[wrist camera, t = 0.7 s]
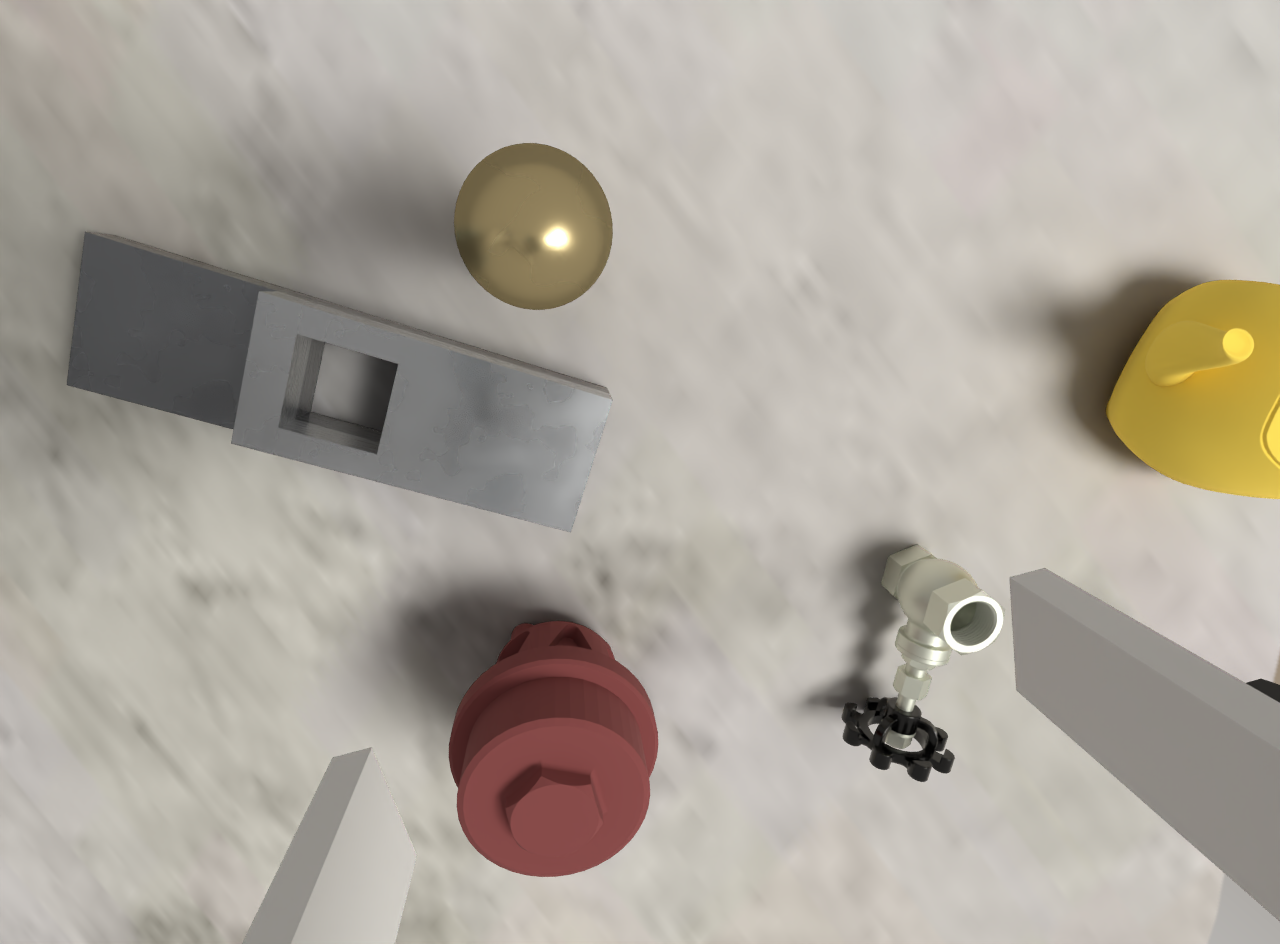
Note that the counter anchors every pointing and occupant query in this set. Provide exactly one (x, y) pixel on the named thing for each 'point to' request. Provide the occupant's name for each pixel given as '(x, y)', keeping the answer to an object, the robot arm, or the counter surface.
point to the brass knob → (533, 226)
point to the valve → (923, 657)
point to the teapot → (1207, 390)
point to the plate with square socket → (287, 375)
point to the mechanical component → (553, 753)
